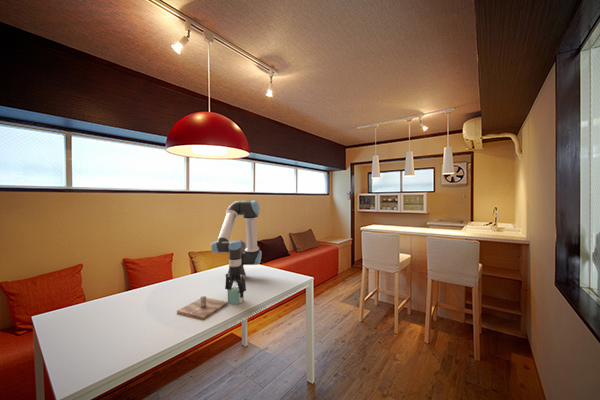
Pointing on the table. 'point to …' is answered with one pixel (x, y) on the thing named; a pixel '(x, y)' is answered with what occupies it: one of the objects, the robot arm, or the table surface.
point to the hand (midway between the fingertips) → (235, 301)
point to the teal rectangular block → (234, 295)
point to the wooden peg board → (202, 308)
